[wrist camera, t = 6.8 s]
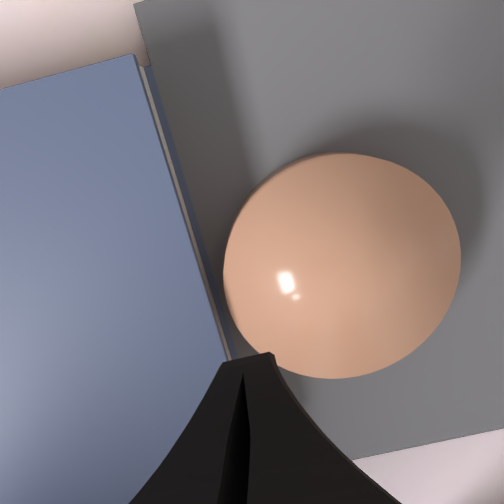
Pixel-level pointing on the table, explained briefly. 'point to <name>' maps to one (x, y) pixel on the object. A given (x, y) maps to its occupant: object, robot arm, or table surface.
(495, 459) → the table surface
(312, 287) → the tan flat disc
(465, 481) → the table surface
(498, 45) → the placemat
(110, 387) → the book
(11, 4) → the table surface
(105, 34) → the table surface
